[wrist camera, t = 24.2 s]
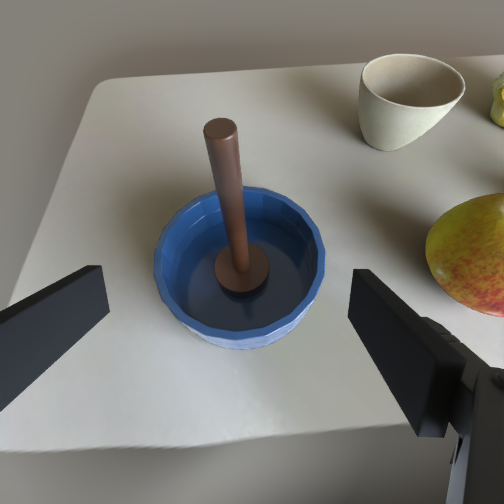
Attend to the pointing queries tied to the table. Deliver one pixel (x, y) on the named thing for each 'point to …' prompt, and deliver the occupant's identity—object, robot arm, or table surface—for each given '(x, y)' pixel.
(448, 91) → the cream ceramic cup
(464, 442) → the robot arm
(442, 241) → the fruit
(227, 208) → the paper towel holder
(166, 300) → the bowl
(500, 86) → the mug
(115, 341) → the table surface
